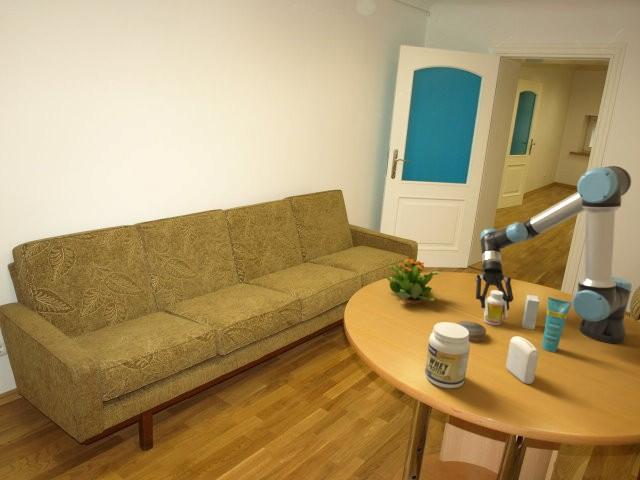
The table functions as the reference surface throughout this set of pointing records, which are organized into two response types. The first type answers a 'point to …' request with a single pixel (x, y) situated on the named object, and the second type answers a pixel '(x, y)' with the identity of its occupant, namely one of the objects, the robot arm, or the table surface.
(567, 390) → the table surface
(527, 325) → the skincare box
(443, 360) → the supplement tub
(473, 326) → the walnut plinth
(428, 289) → the potted flower
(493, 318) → the supplement bottle
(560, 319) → the tube
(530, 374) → the photo printer
